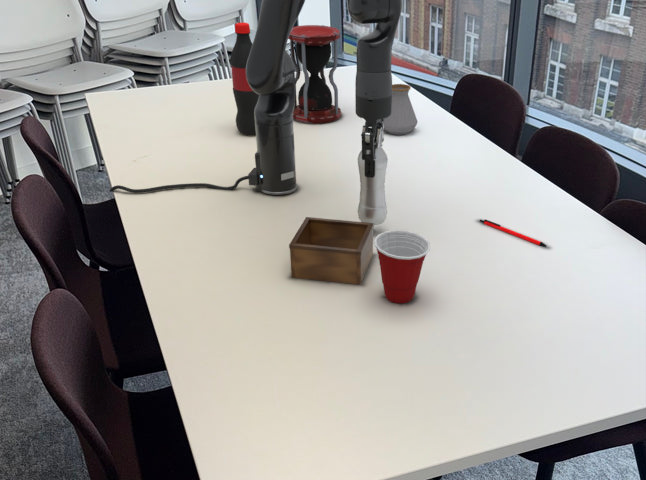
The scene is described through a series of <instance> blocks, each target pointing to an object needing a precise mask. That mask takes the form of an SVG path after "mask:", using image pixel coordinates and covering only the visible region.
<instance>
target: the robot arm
mask: <svg viewBox="0 0 646 480" xmlns="http://www.w3.org/2000/svg"><path fill="white" fill-rule="evenodd" d="M305 3H306V0H261V4H260V10H259V15H258V21H257V27H256V31H255V35H254V37H253V41H252V48H251V51H250V54H249V57H248V60H247V64H246V78H247V82H248V84H249V86H250V87H251V89H252V90H253V91H254V92H255V93H257V94H259V98H258V102H257V104H256V107H255V109H254V118H255V130H256V135H255V141H256V152H255V153H254V163H255V167H253V168H252V170H251V171H249V173H248V174H247V175H245V176H244V175H243V176H241V177H239V178H238V179H237V180H235V183H234V184H233V185H230V186H221V185H216V184H211V183H205V182H204V183H203V182H200V183H198V182H197V183H194V182H193V183H178V184H168V185H161V186H160V185H159V186H155V187H149V188H140V189H139V188H138V189H137V188H135V189H134V188H130V187H127V186H123V185H114V186H112V187H111V188H110V189H109V193H113V192H114V191H116V190H122V191H125V192H129V193H132V194H142V193H151V192H156V191H162V190H169V189H170V190H171V189H180V188H181V189H182V188H201V187H202V188H210V189H215V190H222V191H232V190H235V189H236V188H238V187H239V184H240V183H241V182H243V181H246V180H248V186H256V188H257V192H261V193H264V194H266V195H270V196H284V195H289V194H292V193H294V192H295V191H296V190H297V189H298V185H297V174H296V173H297V172H296V170H297V169H296V152H295V130H294V119H293V110H294V107H295V78H296V70H295V67H294V65H293V62H292V59H291V54H289V53H288V51H287V50H286V49H287V44H288V40H289V39H288V37H289V35H290V32H291V30H292V28H293V27H295V24H296V22H297V20H298V18H299V16H300V14H301V12H302V10H303V8H304V5H305ZM346 7H347V13H348V15H349V17H350V18H351V19H352V20H353V21H354V22H355V23H357V24H359V25H371V24H375V27H374V29H372V31H371V32H369V33H368V34H365V35H363V36H361V37H359V38H358V40H357V43H356V73H355V81H354V82H355V84H354V85H355V87H354V89H355V91H354V92H355V98H354V99H355V115H356V116H357V118H361V119H363V120H364V121H365V122H364V125H362V128H361V129H362V131H361V135H360V136H361V150H362V160H365V177H371V178H373V177H374V176H375V160H376V150H378V149H379V142H380V136H381V134H382V144H381V147H382V148H383V143H384V141H385V138H384V135H385V133H384V131H385V129H384V119H386V118H388V117H389V116H390V115H391V108H392V85H393V76H392V75H393V74H392V59H393V58H392V54H393V53H392V52H393V51H392V50H393V44H394V42H395V41H394V40H395V37H396V33H397V30H398V26H399V23H400V19H401V15H402V10H403V0H346ZM374 143H376V144H375V145H374ZM367 150H370V151H371V154H367Z"/></svg>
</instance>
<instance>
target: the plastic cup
mask: <svg viewBox="0 0 646 480" xmlns="http://www.w3.org/2000/svg"><path fill="white" fill-rule="evenodd" d="M374 247H375V248H376V252H377V256H378V258H377V259H378V261H379V267H380V276H381V282H382V287H383V293H384V296H385V299H386V300H387V301H389V302H391V303H395V304H406V303H409V302H411V301H412V300H413V299H414V297H415V294H416V290H417V286H418V283H419V279H420V275H421V272H422V268H423V264H424V261H425V258H426V257H427V255H428V253H429V252H430V250H431V242H429V240H427V238H426V237H424V236H423V235H421V234H420V233H417V232H413V231H409V230H401V229H400V230H399V229H393V230H386V231H383V232H381V233H379V234H377V236H376V237H375V238H374Z"/></svg>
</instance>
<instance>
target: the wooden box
mask: <svg viewBox="0 0 646 480" xmlns="http://www.w3.org/2000/svg"><path fill="white" fill-rule="evenodd" d="M374 226H375V225H374V223H366V222H361V221H355V220H343V219H333V218H323V217H312V216H305V218H304V220H303V221H302V223H301V225H300V226H299V228H298V230H297V231H296V233H295V234H294V236H293V238H292V239H291V241H290V243H289V244H288V249H289V257H290V258H289V259H290V273H291V278H292V279H293V278H294V279H295V278H296V279H303V280H313V281H324V282H332V283H343V284H353V285H361V284H362V282H363V280H364V277H365V275H366V272H367V270H368V268H369V265H370V263H371V261H372V258H373V255H374Z"/></svg>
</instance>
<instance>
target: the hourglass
mask: <svg viewBox="0 0 646 480" xmlns="http://www.w3.org/2000/svg"><path fill="white" fill-rule="evenodd" d="M340 38H341V31H340V29H338V28H336V27H333V26H328V25H323V24H322V25H319V24H305V25H297V26H293V28H292V30H291V32H290V35H289V37H288V40H289V44H290V46H289V47H290V57H291V59H292V62H293V65H294V70H295V107H294V110H293V121H296V122H300V123H304V124H312V125H313V124H314V125H315V124H316V125H317V124H327V123H328V124H329V123H332V122H335V121H337V120H339V119H340V118H341V117H342V110H341V108H340V107H339V89H338V86H337V84H336V83H335V81H334V73H335V71H336V69H337V67H338V40H339V39H340ZM331 43H333V65H332V68H331V69H330V70H329V72H328V80H329V83H330V85H331V86H332V88H333V92H334V93H333V95H332V91H331V89H330V87H329V86H328V85H327V79H326V76H325V67H326V66H327V64H328V63H329V61H330V59H331V57H332V44H331ZM295 53H296V57H297V60H298V61H299V63H300V64H301V68H302V73H303V74H304V75H303V76H304V82H303V83H302V85H301V86H300V88H299V90H298V94H297V82H298V81H299V79H300V77H301V74H302V73H301V69H300V66H299V65H298V63H297V61H296V58H295ZM297 96H298V97H297ZM333 97H334V99H333ZM297 100H298V101H297ZM333 101H334V104H333ZM297 102H298V103H297Z"/></svg>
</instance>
